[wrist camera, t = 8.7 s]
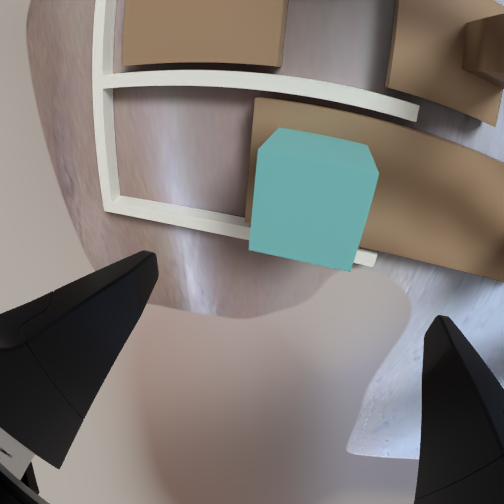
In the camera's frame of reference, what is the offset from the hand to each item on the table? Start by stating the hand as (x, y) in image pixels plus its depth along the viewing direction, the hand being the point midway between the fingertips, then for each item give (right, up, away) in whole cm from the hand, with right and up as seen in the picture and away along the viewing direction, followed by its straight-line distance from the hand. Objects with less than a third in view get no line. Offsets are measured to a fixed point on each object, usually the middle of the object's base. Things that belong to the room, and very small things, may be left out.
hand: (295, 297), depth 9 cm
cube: (+2, +6, +8) cm, 10 cm away
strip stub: (+10, +13, +2) cm, 17 cm away
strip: (+10, +5, +8) cm, 13 cm away
